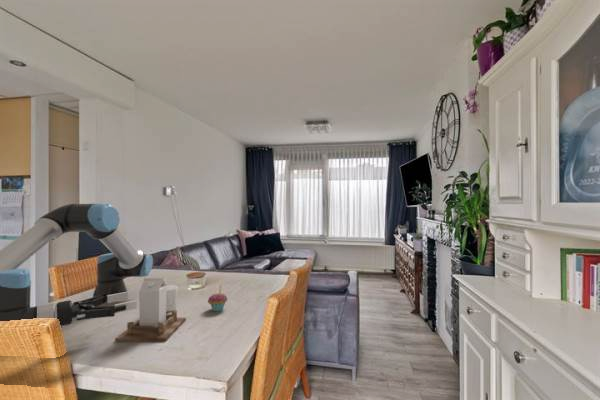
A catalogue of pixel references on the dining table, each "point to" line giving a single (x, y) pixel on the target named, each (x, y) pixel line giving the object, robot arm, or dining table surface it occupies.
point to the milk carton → (152, 302)
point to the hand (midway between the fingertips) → (131, 299)
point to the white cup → (171, 297)
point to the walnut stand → (152, 330)
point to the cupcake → (217, 301)
